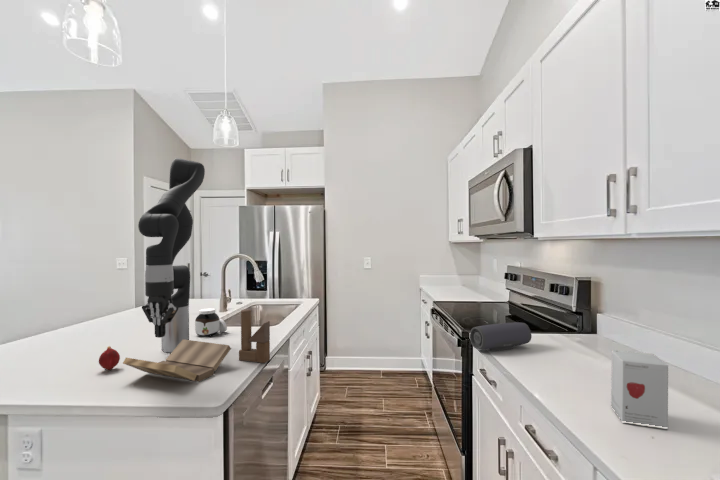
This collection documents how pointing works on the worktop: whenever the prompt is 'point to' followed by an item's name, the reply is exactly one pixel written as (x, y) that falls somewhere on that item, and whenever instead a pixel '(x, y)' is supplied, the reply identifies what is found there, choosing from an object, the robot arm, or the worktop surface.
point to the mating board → (193, 370)
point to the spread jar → (209, 323)
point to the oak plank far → (199, 353)
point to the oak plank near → (160, 368)
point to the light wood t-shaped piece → (254, 340)
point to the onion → (109, 358)
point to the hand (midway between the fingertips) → (160, 336)
